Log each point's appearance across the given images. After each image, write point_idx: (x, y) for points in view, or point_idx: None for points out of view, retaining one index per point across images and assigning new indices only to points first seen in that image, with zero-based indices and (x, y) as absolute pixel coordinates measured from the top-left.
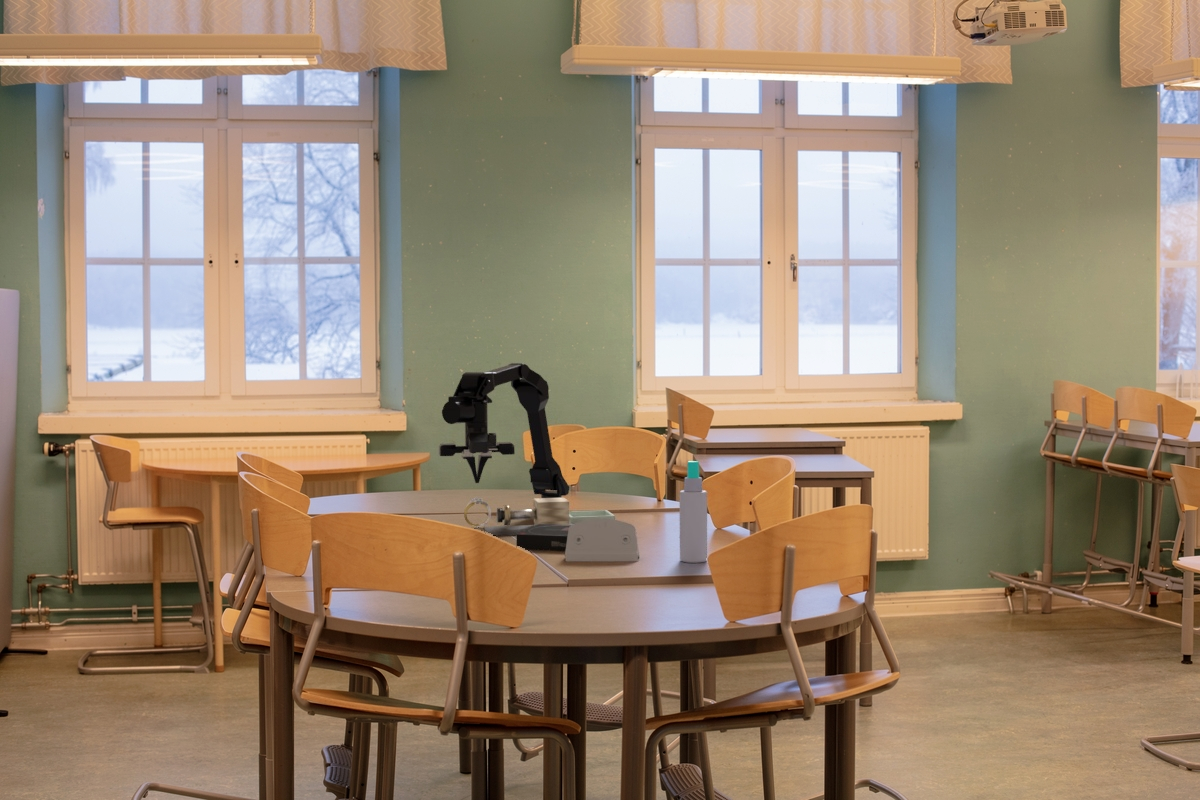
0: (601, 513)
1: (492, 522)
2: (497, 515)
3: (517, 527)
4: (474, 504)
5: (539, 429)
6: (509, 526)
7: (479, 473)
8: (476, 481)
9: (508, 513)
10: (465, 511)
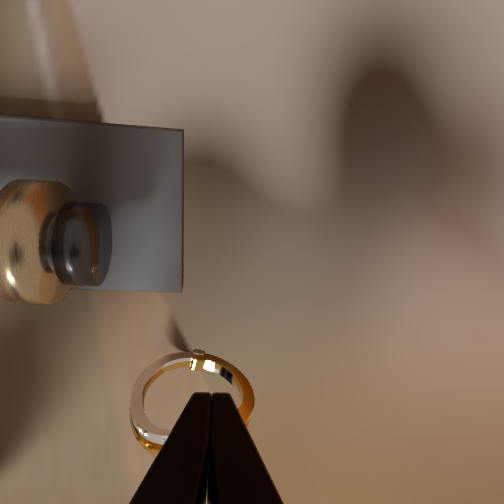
0: None
1: (132, 437)
2: (99, 239)
3: None
4: None
5: None
6: None
7: (171, 491)
8: (220, 403)
9: (17, 190)
10: (249, 403)
